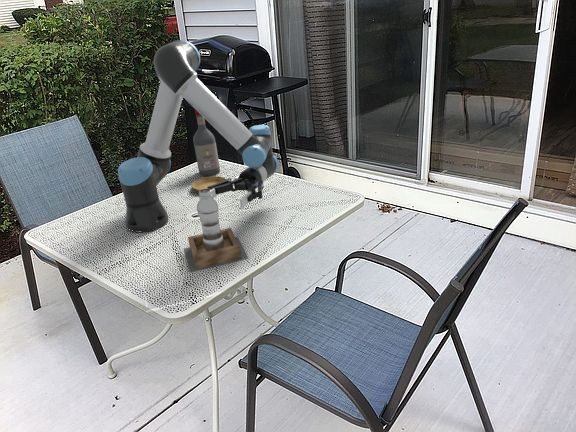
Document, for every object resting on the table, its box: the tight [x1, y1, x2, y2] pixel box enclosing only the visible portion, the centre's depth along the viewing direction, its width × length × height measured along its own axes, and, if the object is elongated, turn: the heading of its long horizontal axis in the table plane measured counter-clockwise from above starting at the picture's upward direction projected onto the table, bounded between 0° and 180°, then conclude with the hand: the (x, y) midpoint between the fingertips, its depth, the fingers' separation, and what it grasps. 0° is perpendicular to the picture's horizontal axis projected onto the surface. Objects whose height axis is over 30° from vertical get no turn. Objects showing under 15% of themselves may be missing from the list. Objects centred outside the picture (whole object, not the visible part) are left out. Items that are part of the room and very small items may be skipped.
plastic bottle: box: [196, 189, 224, 251], centre depth 151 cm, size 6×7×20 cm
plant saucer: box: [191, 175, 227, 193], centre depth 208 cm, size 15×15×3 cm
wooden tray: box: [187, 227, 242, 269], centre depth 154 cm, size 14×14×4 cm
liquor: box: [192, 108, 221, 177], centre depth 219 cm, size 9×9×30 cm
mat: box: [183, 236, 250, 273], centre depth 155 cm, size 18×16×1 cm
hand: (222, 202), depth 157 cm, fingers open, 13 cm apart
